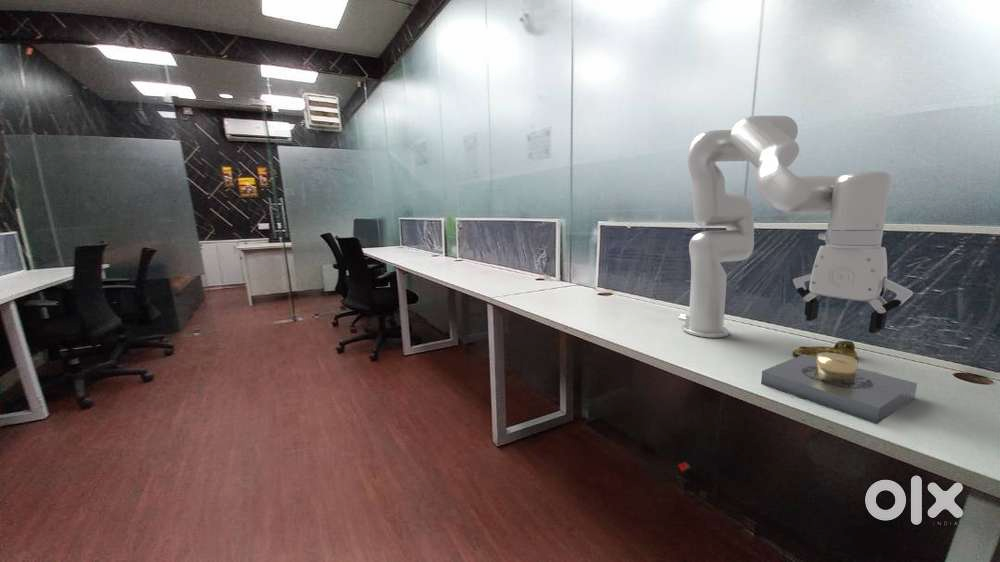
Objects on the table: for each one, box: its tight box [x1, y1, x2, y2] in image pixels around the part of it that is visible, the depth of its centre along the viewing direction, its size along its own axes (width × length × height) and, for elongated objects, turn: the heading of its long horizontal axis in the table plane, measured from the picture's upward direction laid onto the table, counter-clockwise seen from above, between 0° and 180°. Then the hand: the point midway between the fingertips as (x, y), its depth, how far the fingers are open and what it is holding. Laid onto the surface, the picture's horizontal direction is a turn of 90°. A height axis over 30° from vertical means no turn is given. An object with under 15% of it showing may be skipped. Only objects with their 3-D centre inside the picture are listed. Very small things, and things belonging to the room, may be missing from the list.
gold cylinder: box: [815, 352, 858, 383], centre depth 72 cm, size 6×6×7 cm
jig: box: [760, 354, 918, 425], centre depth 73 cm, size 18×18×3 cm
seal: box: [792, 340, 858, 361], centre depth 90 cm, size 9×5×15 cm
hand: (841, 325), depth 71 cm, fingers open, 9 cm apart
